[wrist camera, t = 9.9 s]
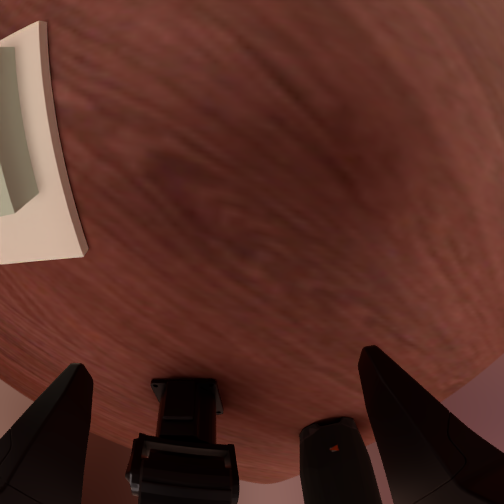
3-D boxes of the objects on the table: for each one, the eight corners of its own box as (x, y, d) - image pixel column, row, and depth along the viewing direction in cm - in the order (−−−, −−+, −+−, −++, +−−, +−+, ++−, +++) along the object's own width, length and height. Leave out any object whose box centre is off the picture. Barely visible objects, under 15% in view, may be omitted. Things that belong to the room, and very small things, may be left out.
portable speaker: (305, 416, 33) (332, 566, 17) (371, 412, 35) (409, 542, 18) (285, 444, 38) (302, 568, 21) (344, 440, 39) (370, 553, 23)
